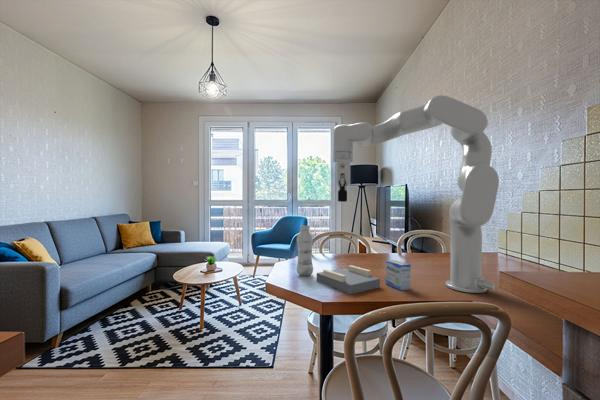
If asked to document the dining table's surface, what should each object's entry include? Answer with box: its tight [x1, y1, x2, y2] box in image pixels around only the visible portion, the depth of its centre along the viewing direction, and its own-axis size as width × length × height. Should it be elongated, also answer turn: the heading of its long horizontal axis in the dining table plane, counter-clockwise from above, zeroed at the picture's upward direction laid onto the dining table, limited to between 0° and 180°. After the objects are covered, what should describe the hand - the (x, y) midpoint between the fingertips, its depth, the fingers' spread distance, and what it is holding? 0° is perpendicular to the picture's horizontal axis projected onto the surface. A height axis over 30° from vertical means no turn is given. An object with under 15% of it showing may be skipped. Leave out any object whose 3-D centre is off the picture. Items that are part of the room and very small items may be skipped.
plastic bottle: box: [296, 224, 314, 277], centre depth 115 cm, size 6×7×20 cm
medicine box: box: [385, 259, 412, 291], centre depth 101 cm, size 8×4×9 cm, turn 23°
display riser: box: [316, 264, 381, 295], centre depth 103 cm, size 18×14×5 cm
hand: (342, 201), depth 111 cm, fingers open, 9 cm apart
